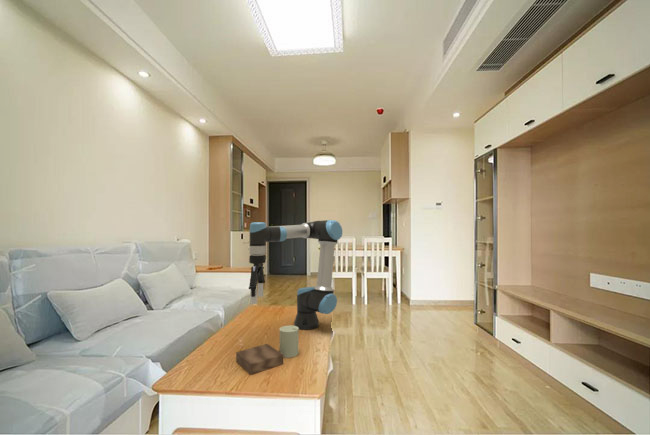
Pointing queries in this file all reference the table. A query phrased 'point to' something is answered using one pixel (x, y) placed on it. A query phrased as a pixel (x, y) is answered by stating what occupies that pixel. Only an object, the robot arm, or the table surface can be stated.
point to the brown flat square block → (259, 358)
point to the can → (289, 341)
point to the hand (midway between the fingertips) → (257, 300)
